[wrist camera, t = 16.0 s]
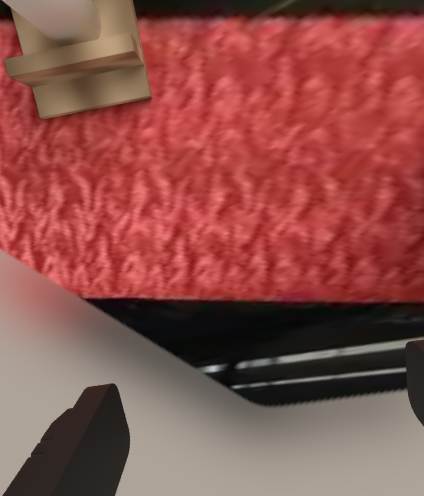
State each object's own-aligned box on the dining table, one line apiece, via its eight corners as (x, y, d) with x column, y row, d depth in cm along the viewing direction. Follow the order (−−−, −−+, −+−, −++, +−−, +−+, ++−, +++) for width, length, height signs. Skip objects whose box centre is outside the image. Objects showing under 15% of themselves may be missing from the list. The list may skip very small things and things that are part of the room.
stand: (117, -77, 33) (99, -122, 28) (152, 97, 36) (141, 85, 31) (0, -50, 33) (-38, -88, 28) (45, 118, 37) (17, 110, 32)
